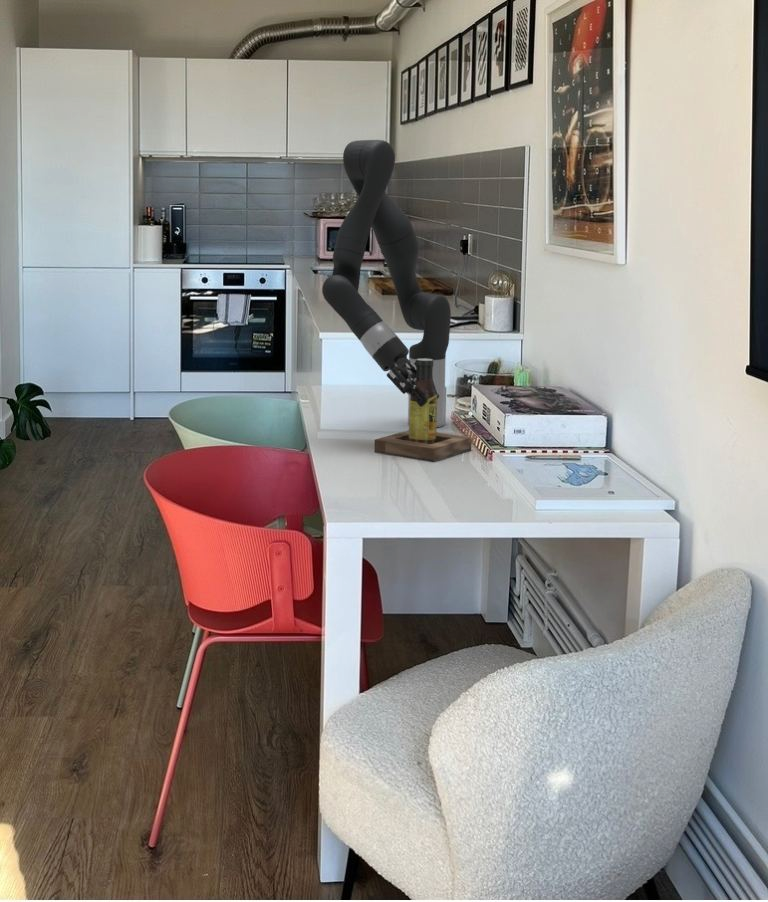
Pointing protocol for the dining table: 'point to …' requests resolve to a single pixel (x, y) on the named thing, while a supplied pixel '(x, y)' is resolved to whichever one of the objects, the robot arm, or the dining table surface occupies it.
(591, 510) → the dining table surface
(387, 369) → the robot arm
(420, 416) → the sauce bottle
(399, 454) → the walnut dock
